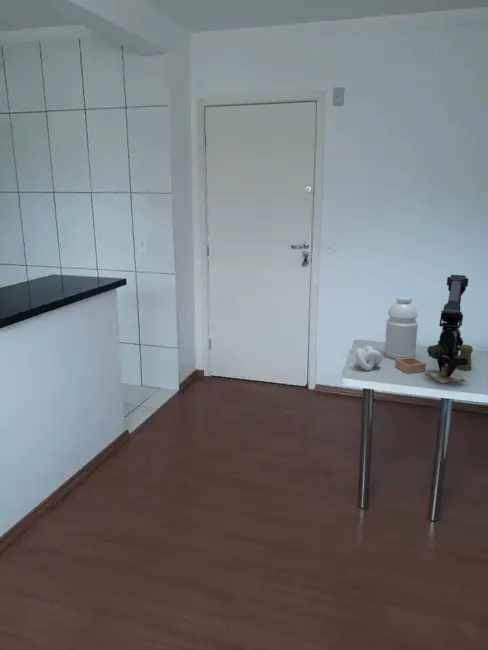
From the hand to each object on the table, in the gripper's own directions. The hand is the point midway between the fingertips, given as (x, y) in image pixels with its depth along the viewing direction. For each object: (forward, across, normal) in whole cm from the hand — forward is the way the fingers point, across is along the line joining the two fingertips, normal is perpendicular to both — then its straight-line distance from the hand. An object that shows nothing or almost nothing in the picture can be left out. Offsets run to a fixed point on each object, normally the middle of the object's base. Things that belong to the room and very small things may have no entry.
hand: (445, 374), depth 216 cm
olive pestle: (+2, -7, +15) cm, 17 cm away
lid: (+1, 0, 0) cm, 1 cm away
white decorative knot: (+2, -21, -25) cm, 33 cm away
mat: (+2, 0, 0) cm, 2 cm away
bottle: (+2, -32, -1) cm, 32 cm away
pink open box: (+2, -13, -8) cm, 15 cm away
